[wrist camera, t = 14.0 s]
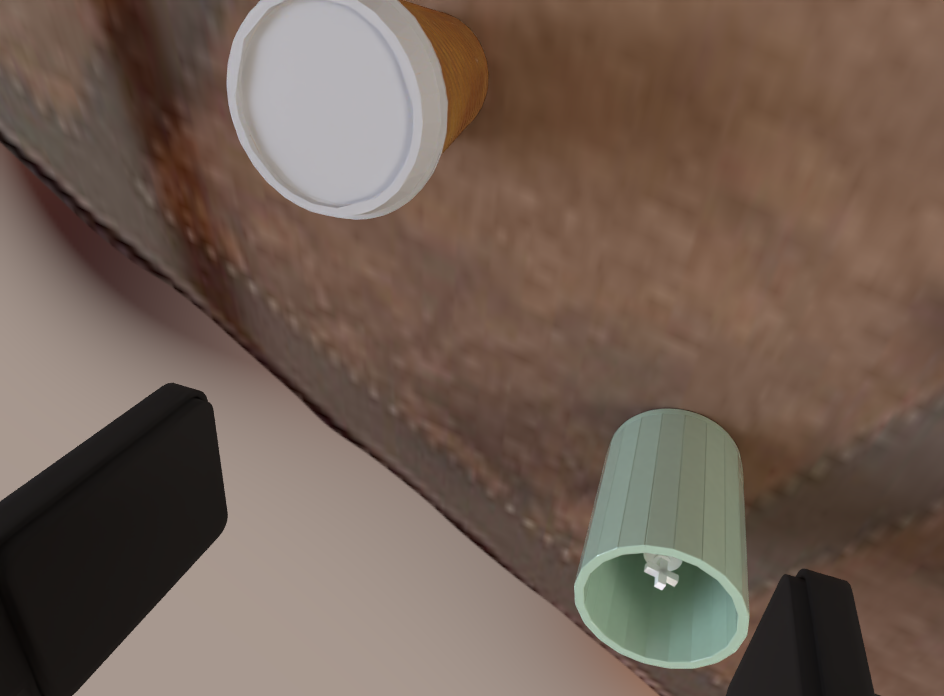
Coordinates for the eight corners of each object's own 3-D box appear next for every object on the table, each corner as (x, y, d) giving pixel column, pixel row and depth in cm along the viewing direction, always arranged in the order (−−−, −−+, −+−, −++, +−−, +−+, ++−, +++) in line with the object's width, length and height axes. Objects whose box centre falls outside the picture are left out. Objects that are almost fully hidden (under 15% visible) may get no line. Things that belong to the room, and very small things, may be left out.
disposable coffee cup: (443, -71, 32) (317, -98, 22) (553, 96, 34) (484, 140, 24) (322, 57, 37) (175, 82, 27) (425, 196, 39) (323, 268, 29)
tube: (721, 396, 39) (721, 537, 29) (756, 504, 41) (768, 668, 31) (590, 420, 42) (550, 553, 32) (630, 518, 45) (605, 669, 35)
